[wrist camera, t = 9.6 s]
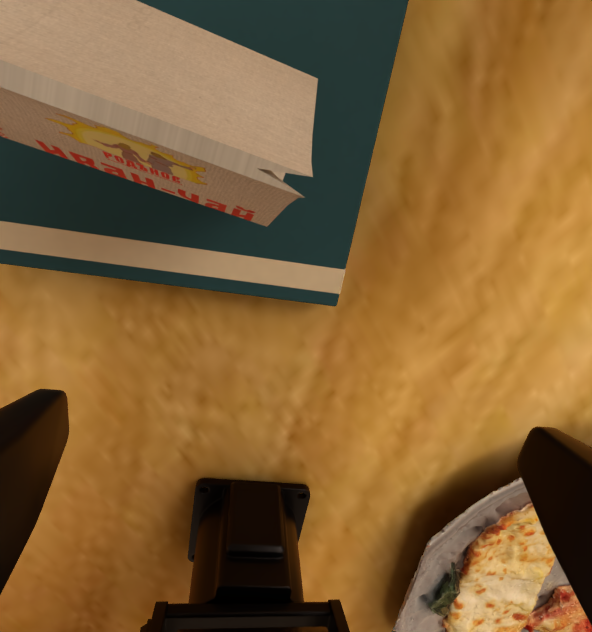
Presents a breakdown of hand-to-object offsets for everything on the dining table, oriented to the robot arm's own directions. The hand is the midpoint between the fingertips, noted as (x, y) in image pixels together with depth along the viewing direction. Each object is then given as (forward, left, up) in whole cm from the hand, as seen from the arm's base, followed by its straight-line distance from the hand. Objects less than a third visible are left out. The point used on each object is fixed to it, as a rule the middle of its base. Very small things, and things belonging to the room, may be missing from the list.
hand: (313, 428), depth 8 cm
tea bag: (+5, +4, -11) cm, 13 cm away
